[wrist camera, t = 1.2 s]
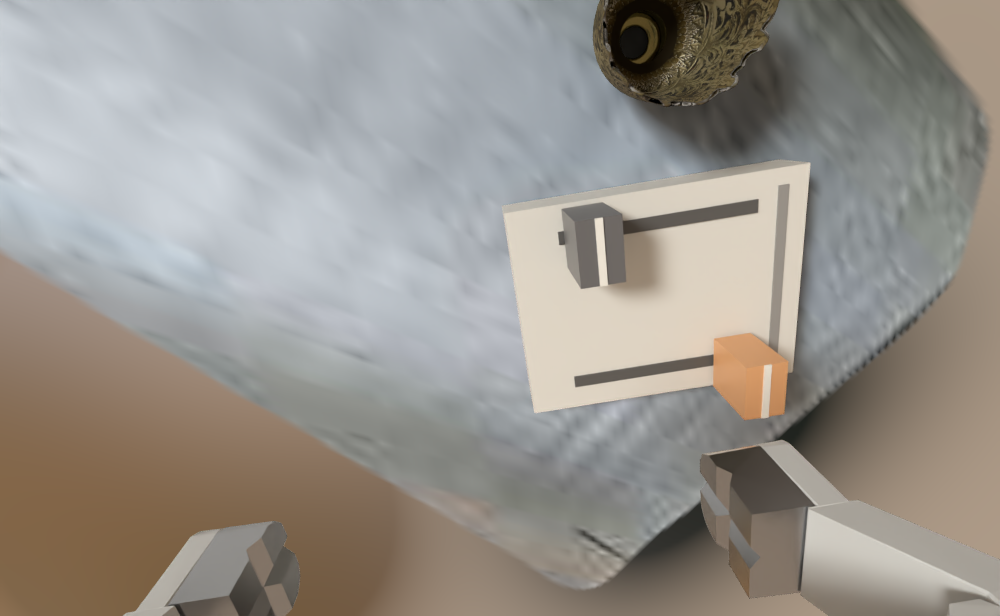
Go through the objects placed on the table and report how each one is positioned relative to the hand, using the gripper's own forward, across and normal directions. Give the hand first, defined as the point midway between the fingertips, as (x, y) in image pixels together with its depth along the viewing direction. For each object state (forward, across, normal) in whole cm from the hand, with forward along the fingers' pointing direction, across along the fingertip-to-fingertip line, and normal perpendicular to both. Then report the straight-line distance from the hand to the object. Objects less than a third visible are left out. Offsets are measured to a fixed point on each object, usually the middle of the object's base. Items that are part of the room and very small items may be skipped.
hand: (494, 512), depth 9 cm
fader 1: (+20, -6, -1) cm, 21 cm away
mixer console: (+24, -11, +4) cm, 26 cm away
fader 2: (+20, -15, +9) cm, 27 cm away
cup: (+23, -11, -11) cm, 28 cm away
